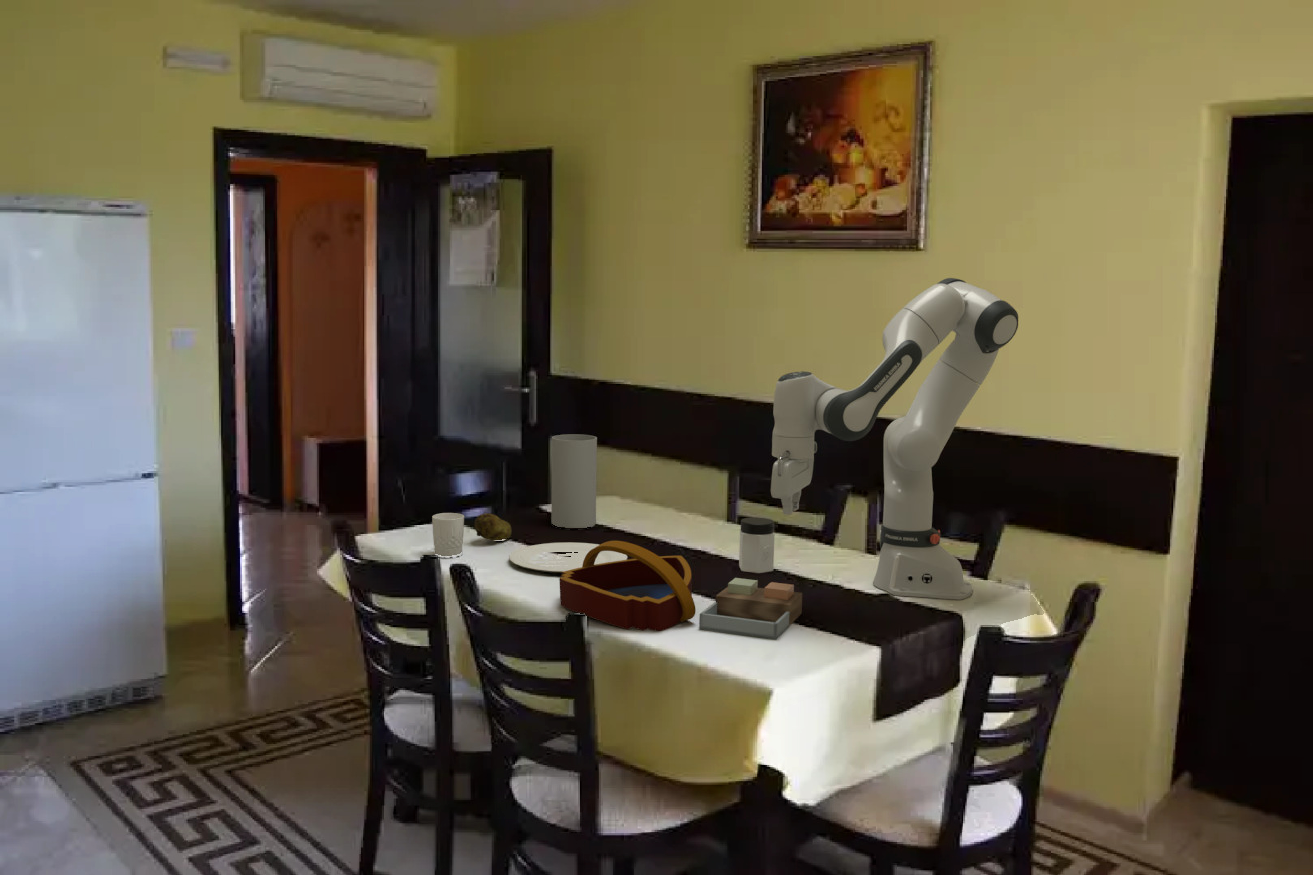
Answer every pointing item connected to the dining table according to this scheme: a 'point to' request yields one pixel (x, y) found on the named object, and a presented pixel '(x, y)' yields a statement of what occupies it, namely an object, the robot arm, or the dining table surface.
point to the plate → (573, 562)
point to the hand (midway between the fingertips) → (790, 512)
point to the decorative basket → (630, 588)
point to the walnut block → (758, 606)
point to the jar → (756, 545)
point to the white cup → (448, 533)
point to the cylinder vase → (574, 480)
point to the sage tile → (742, 586)
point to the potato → (492, 527)
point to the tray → (742, 624)
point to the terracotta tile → (779, 590)
